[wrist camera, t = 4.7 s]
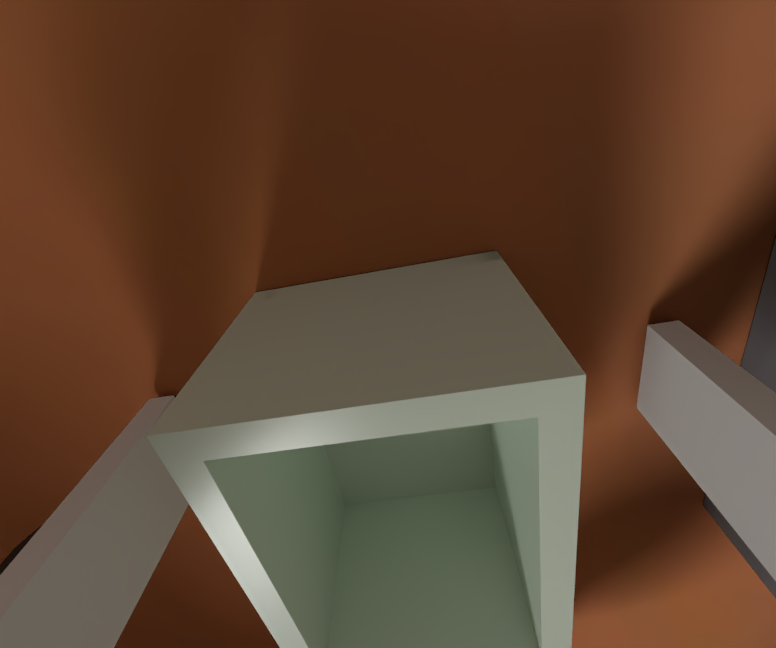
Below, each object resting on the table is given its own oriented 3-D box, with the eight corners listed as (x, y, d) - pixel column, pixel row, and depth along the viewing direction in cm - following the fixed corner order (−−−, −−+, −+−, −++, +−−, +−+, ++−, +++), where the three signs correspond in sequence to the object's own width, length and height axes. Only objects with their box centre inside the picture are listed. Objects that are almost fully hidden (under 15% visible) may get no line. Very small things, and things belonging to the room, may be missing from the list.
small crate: (334, 502, 14) (305, 688, 9) (255, 292, 10) (145, 436, 6) (511, 482, 13) (570, 670, 9) (496, 250, 9) (586, 374, 5)
